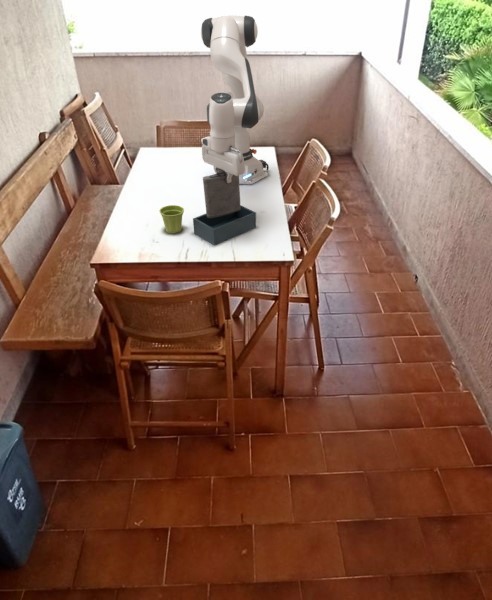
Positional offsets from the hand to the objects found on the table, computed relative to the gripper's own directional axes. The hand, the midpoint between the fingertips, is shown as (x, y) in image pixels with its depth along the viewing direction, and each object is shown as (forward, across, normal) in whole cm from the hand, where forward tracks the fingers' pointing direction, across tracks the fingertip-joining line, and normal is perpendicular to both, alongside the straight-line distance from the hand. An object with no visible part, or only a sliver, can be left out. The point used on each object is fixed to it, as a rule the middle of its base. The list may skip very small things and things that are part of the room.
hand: (223, 180), depth 181 cm
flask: (+14, 0, 0) cm, 14 cm away
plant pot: (+21, +14, +15) cm, 30 cm away
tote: (+21, 0, 0) cm, 21 cm away
